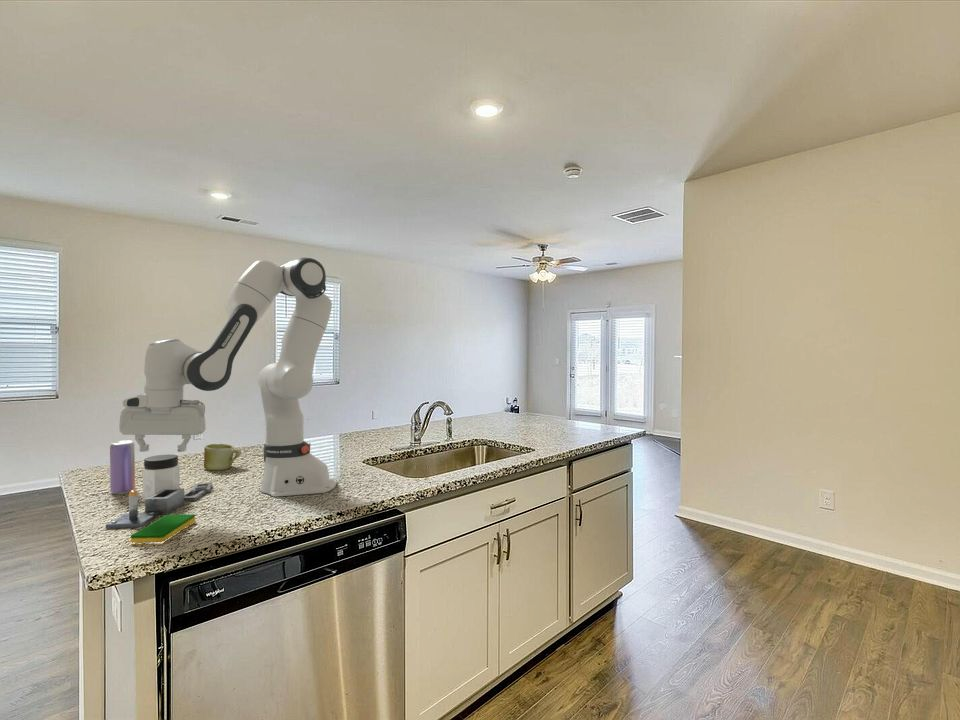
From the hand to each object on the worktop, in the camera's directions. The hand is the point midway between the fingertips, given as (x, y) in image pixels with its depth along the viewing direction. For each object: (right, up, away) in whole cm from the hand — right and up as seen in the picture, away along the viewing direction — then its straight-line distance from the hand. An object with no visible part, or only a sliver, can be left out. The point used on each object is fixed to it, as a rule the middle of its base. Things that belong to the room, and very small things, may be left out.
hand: (163, 451), depth 130 cm
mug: (-8, -15, +45) cm, 48 cm away
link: (0, -16, +1) cm, 16 cm away
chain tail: (0, -15, +16) cm, 22 cm away
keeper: (-2, -16, -9) cm, 18 cm away
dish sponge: (+10, -17, -15) cm, 25 cm away
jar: (-7, -16, +10) cm, 20 cm away
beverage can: (-23, -16, +16) cm, 32 cm away
